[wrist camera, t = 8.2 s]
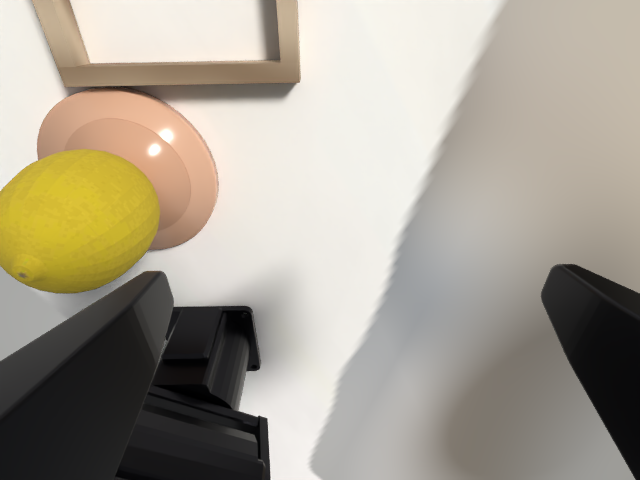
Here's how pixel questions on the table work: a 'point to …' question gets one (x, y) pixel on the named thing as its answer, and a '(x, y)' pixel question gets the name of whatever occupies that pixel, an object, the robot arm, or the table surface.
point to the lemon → (76, 221)
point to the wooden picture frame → (80, 73)
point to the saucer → (141, 151)
